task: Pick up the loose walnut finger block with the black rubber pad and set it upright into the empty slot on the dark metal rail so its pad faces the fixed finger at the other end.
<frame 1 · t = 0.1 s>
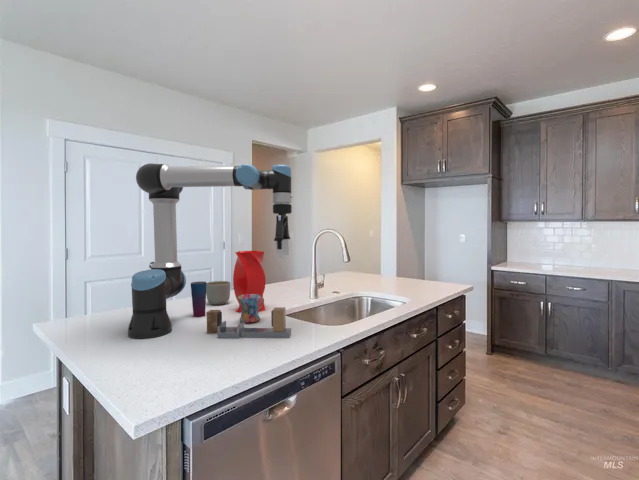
hand: (282, 256, 144), 28 cm above the counter, fingers open, 13 cm apart
rail: (255, 335, 131), on the counter
mug: (252, 320, 151), on the counter
planter: (218, 304, 183), on the counter
cup: (199, 316, 159), on the counter
vase: (249, 309, 170), on the counter
finger block: (214, 331, 136), on the counter
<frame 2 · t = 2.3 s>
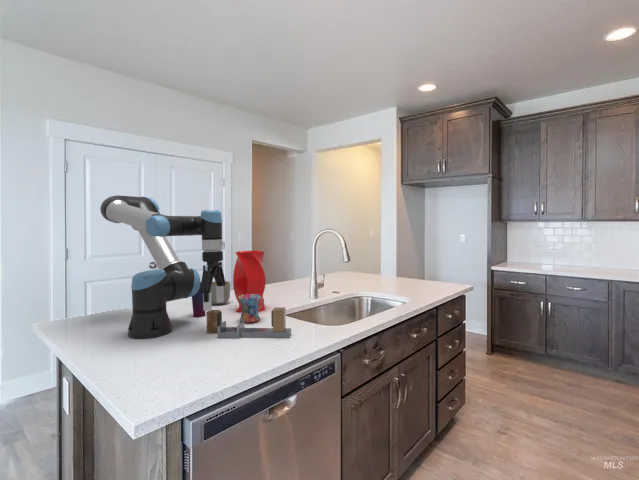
hand: (214, 306, 135), 10 cm above the counter, fingers open, 13 cm apart
nothing on the counter moved.
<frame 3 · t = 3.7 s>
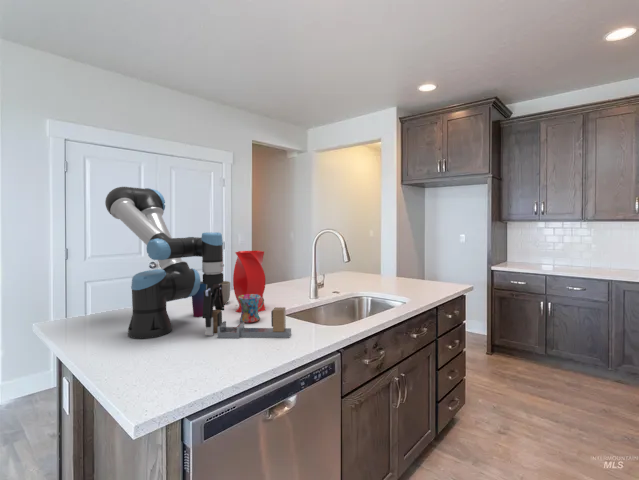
hand: (214, 331, 135), 0 cm above the counter, fingers open, 9 cm apart
nothing on the counter moved.
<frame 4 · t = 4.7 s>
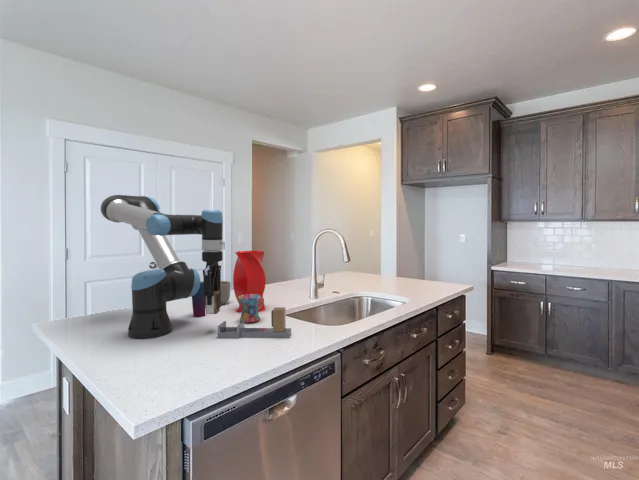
hand: (212, 311, 135), 8 cm above the counter, fingers closed on finger block, 4 cm apart
finger block: (212, 312, 136), point 7 cm above the counter, touching gripper
everything else where it was.
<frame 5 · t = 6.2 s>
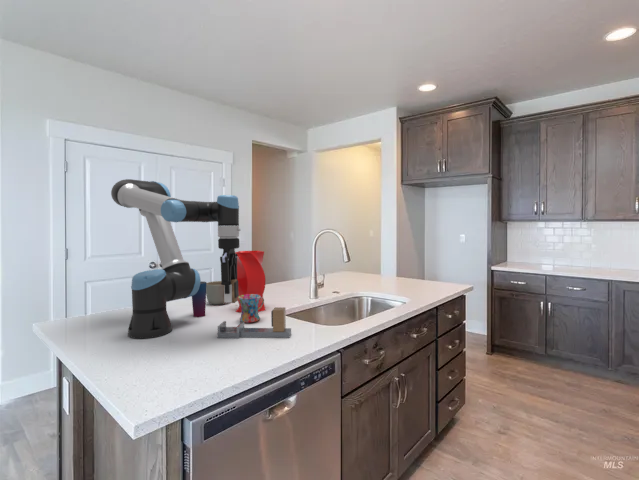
hand: (230, 300, 130), 13 cm above the counter, fingers closed on finger block, 4 cm apart
finger block: (230, 301, 130), point 12 cm above the counter, touching gripper
everything else where it was.
when the fingers open (3 cm above the counter, at t = 8.1 s): finger block stays where it is, resting on rail.
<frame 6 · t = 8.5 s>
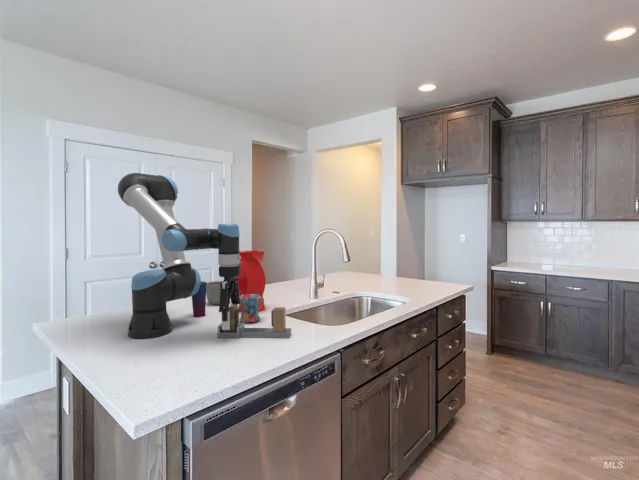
hand: (230, 325, 131), 4 cm above the counter, fingers open, 10 cm apart
finger block: (230, 329, 131), point 2 cm above the counter, touching rail
everything else where it was.
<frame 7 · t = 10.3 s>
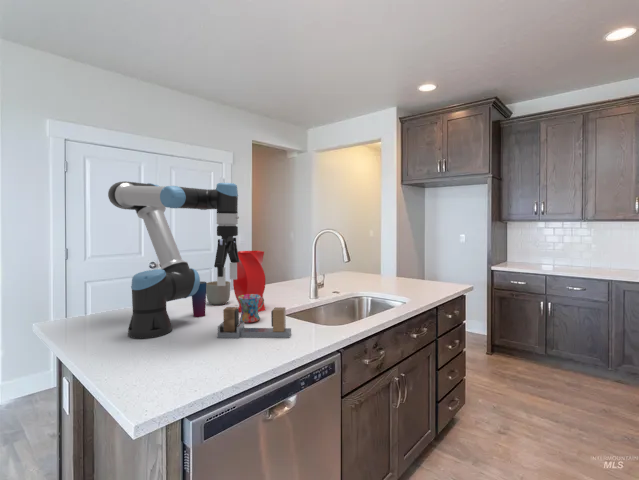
hand: (227, 282, 132), 19 cm above the counter, fingers open, 13 cm apart
nothing on the counter moved.
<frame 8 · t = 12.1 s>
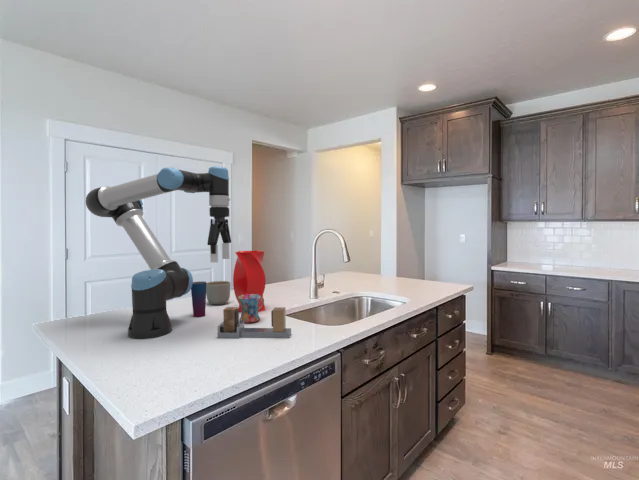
hand: (220, 260, 140), 27 cm above the counter, fingers open, 13 cm apart
nothing on the counter moved.
at the end: finger block 0.1 cm from the target spot on the rail, point 2.0 cm above the rail's base; finger block tilted 0°; the gripper is holding nothing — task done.
